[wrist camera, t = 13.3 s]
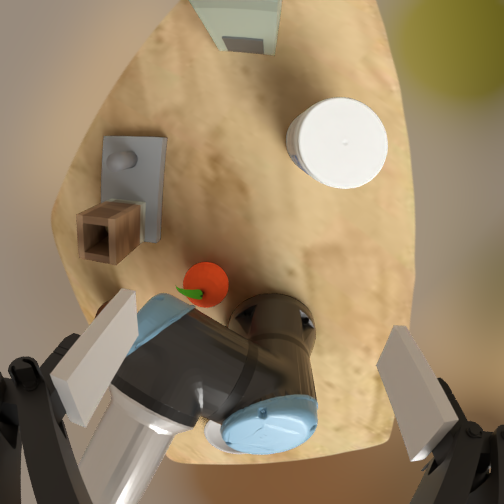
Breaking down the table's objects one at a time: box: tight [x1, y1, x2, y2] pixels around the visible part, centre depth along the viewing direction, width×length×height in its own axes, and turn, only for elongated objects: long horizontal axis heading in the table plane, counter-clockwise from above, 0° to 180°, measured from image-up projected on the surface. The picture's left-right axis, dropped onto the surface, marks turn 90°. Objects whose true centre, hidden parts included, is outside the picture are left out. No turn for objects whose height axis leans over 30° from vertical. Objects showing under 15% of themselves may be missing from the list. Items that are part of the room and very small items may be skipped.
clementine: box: [176, 262, 229, 308], centre depth 45 cm, size 8×7×7 cm
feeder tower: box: [189, 0, 282, 56], centre depth 26 cm, size 8×8×18 cm
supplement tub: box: [286, 97, 388, 189], centre depth 33 cm, size 10×10×15 cm
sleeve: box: [76, 199, 146, 265], centre depth 39 cm, size 6×6×10 cm
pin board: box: [101, 136, 167, 243], centre depth 41 cm, size 16×10×7 cm, turn 173°
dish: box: [204, 420, 247, 454], centre depth 59 cm, size 18×14×5 cm
